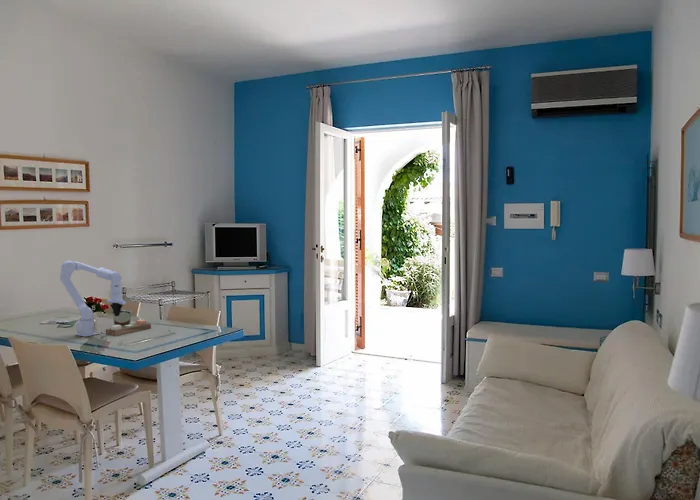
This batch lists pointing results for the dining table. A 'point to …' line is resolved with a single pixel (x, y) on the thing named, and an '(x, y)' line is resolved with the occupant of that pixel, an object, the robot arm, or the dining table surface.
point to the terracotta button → (141, 322)
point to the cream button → (115, 327)
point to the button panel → (128, 329)
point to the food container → (122, 317)
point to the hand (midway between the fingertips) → (117, 315)
